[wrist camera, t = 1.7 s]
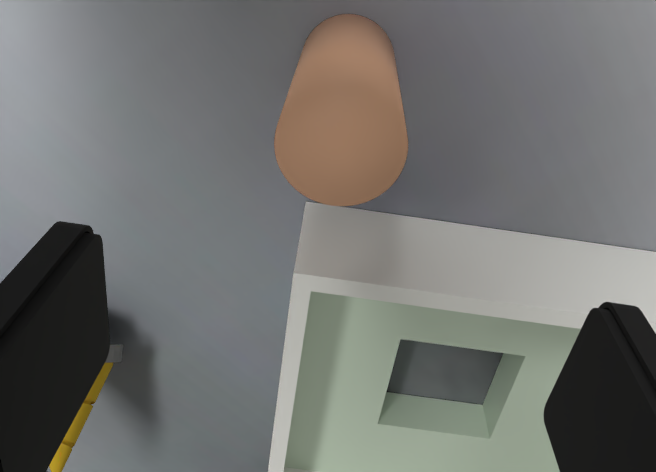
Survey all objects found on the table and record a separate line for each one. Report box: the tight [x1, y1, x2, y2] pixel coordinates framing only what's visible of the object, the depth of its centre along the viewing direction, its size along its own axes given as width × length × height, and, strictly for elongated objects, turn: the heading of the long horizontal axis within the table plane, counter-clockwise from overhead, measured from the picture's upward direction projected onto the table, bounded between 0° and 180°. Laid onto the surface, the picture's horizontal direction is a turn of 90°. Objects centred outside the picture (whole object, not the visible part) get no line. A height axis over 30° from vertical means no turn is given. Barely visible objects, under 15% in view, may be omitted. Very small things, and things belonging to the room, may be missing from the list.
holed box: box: [268, 202, 656, 472], centre depth 31 cm, size 18×18×6 cm
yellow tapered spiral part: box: [49, 344, 123, 472], centre depth 32 cm, size 5×5×10 cm
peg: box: [274, 14, 408, 206], centre depth 21 cm, size 4×4×9 cm
